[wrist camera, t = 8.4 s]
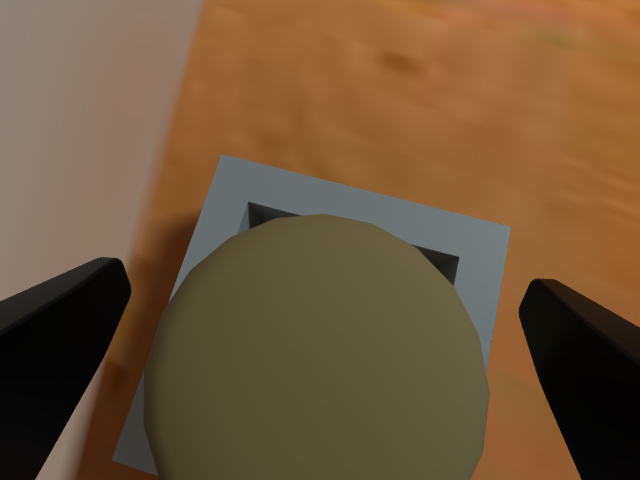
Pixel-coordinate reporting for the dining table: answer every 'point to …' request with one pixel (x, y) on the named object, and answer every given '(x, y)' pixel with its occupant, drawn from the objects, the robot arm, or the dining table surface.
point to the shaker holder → (348, 202)
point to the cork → (315, 362)
